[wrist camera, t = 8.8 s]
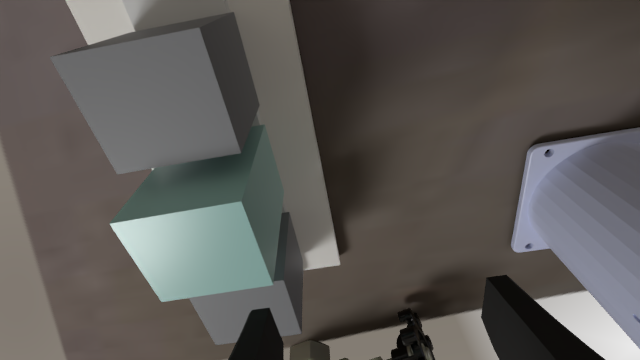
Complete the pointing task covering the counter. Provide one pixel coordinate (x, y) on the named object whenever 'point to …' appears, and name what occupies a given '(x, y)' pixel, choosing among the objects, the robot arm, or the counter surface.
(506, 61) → the counter surface
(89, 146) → the counter surface
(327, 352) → the valve
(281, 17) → the rail plate
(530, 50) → the counter surface
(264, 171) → the block
